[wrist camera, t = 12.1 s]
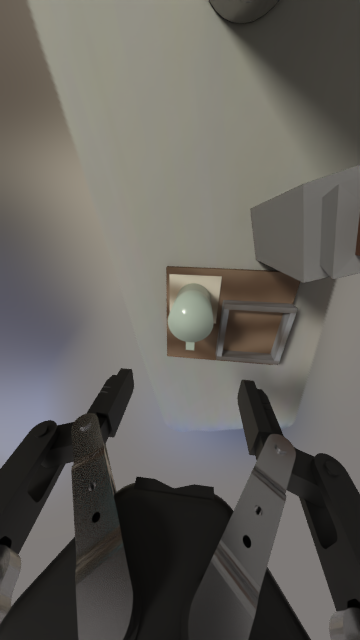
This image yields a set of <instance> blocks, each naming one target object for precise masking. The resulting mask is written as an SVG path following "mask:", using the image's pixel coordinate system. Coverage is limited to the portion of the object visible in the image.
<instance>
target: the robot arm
mask: <svg viewBox="0 0 360 640" xmlns="http://www.w3.org/2000/svg"><path fill="white" fill-rule="evenodd" d="M209 1H210V2H211V4H212V6H213V7H214V9H215V10H216V11H217V12H218V13H219V14H220V15H221V16H222V17H223V18H225V19H227V20H229V21H231V22H235V23H246V22H251V21H254V20H256V19H258V18H259V17H261V16H263V15H265V14H266V13H267V12H268V11H269V10H270V9H271V8H272V7H274V6H275V4H276V3H277V2H278V1H279V0H209ZM133 389H134V380H133V373H132V369H122V368H121V370H120V371H119V373H118V374H117V375H112V376H111V377H110V378H109V379H108V380H107V381H106V383H105V384H104V386H103V388H102V389H101V391H100V393H99V394H98V396H97V397H96V399H95V401H94V402H93V404H92V405H91V407H90V409H89V410H88V412H87V413H86V414H84V415H82V416H80V417H79V418H77V419H76V420H75V422H72V423H67V424H62V425H57V424H56V423H55V422H54V421H51V420H48V421H44V422H42V423H40V424H38V425H36V426H35V427H34V428H33V429H32V430H31V431H30V432H29V434H28V435H27V436H26V437H25V438H24V440H23V441H22V442H21V443H20V445H19V446H18V447H17V449H16V450H15V451H14V452H13V454H12V455H11V456H10V457H9V459H8V460H7V462H6V463H5V464H4V465H3V466H2V468H1V469H0V640H311V639H310V637H309V636H308V634H307V632H306V631H305V629H304V627H303V626H302V624H301V622H300V621H299V619H298V617H297V616H296V614H295V612H294V611H293V609H292V607H291V606H290V604H289V602H288V601H287V599H286V597H285V596H284V594H283V592H282V591H281V589H280V587H279V586H278V584H277V582H276V581H275V579H274V577H273V576H272V574H271V572H270V571H269V569H268V567H267V564H268V561H269V557H270V554H271V550H272V547H273V543H274V540H275V536H276V533H277V529H278V526H279V522H280V518H281V515H282V511H283V508H284V504H285V500H286V495H285V493H286V490H288V491H290V492H291V493H293V494H296V495H297V496H299V498H300V501H301V504H302V507H303V510H304V513H305V516H306V520H307V523H308V526H309V529H310V531H311V535H312V538H313V541H314V543H315V546H316V550H317V553H318V556H319V559H320V562H321V565H322V568H323V571H324V574H325V577H326V580H327V583H328V587H329V589H330V593H331V595H332V599H333V602H334V604H335V608H336V611H337V612H335V613H334V614H333V615H332V616H331V618H330V624H329V630H330V637H331V640H360V494H359V492H358V490H357V489H356V487H355V485H354V483H353V481H352V480H351V478H350V476H349V475H348V473H347V471H346V469H345V468H344V467H343V466H342V465H341V464H340V463H339V462H338V461H337V460H336V459H334V458H333V457H331V456H329V455H327V454H323V453H319V454H317V455H316V456H315V457H314V456H312V455H309V454H307V453H305V452H302V451H300V450H298V449H296V448H295V447H293V445H292V444H291V442H290V441H289V440H288V439H286V438H285V437H284V436H283V434H282V431H281V429H280V426H279V424H278V421H277V419H276V416H275V414H274V411H273V409H272V407H271V405H270V402H269V399H268V397H267V395H266V394H265V393H264V392H263V391H262V389H257V388H256V385H255V383H254V381H250V380H242V381H241V385H240V388H239V392H238V406H239V410H240V415H241V419H242V423H243V428H244V432H245V437H246V441H247V445H248V450H249V454H250V455H255V456H256V460H257V462H256V464H255V466H254V468H253V470H252V473H251V475H250V477H249V479H248V481H247V483H246V486H245V488H244V490H243V492H242V494H241V496H240V499H239V501H238V503H237V505H236V507H235V510H234V511H233V510H232V509H231V507H230V506H229V505H228V504H227V503H226V502H225V501H224V500H223V499H222V498H220V497H219V496H217V495H215V494H214V487H208V486H201V485H189V486H185V487H180V488H172V487H169V486H168V485H166V484H163V483H162V482H160V481H158V480H156V479H151V478H143V477H137V478H136V481H135V483H133V484H130V485H127V486H125V487H124V488H122V489H120V490H119V491H116V487H115V483H114V479H113V475H112V471H111V466H110V461H109V457H108V452H107V448H106V441H107V439H108V437H114V436H115V434H116V432H117V429H118V426H119V424H120V422H121V419H122V417H123V415H124V412H125V410H126V407H127V404H128V402H129V400H130V398H131V395H132V392H133ZM70 462H74V464H73V466H72V470H71V472H72V490H73V507H74V525H75V537H74V538H73V539H72V540H71V541H70V542H69V544H68V545H67V546H66V547H65V548H64V549H63V550H62V551H61V553H59V554H58V556H57V557H56V558H55V559H54V560H53V561H52V562H51V563H50V564H49V565H48V566H47V568H46V569H45V570H44V571H43V572H42V573H41V574H40V575H39V576H38V577H37V578H36V579H35V580H34V582H33V583H32V584H31V585H30V586H29V587H28V588H27V589H26V590H25V591H24V592H23V594H22V595H21V596H20V597H19V598H18V599H17V601H16V602H15V603H14V605H13V606H12V607H11V598H12V593H13V590H14V587H15V584H16V581H17V579H18V576H19V573H20V569H21V558H20V556H19V555H18V554H19V552H20V550H21V548H22V546H23V544H24V542H25V540H26V539H27V537H28V535H29V533H30V531H31V529H32V527H33V525H34V523H35V521H36V519H37V517H38V516H39V514H40V512H41V510H42V508H43V506H44V504H45V502H46V500H47V498H48V496H49V494H50V492H51V490H52V489H53V487H54V485H55V483H56V481H57V479H58V477H59V475H60V473H61V471H62V469H63V467H64V466H65V464H66V463H70Z"/></svg>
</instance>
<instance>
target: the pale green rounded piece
mask: <svg viewBox="0 0 360 640" xmlns="http://www.w3.org/2000/svg"><path fill="white" fill-rule="evenodd" d="M168 326H169V329H170V331H171V332H172V334H173V335H174V336H175V337H177V338H178V339H180V340H182V341H185V342H186V350H194V345H195V342H198V341H201V340H203V339H204V338H206V337H207V336H208V335H209V334H210V333H211V331H212V328H213V313H212V304H211V296H210V293H209V291H208V290H207V289H206V288H205V287H204V286H202V285H200V284H197V283H191V284H187V285H185V286H183V287H182V288H181V289H180V290H179V292H178V294H177V296H176V299H175V301H174V304H173V306H172V309H171V311H170V314H169V316H168Z"/></svg>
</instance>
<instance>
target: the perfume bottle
mask: <svg viewBox="0 0 360 640" xmlns="http://www.w3.org/2000/svg"><path fill="white" fill-rule="evenodd" d="M250 210H251V219H252V228H253V237H254V246H255V255H256V260H258V261H260V262H262V263H264V264H266V265H268V266H270V267H272V268H274V269H276V270H278V271H280V272H282V273H284V274H286V275H289V276H291V277H293V278H295V279H297V280H299V281H301V282H303V283H305V282H310V281H314V280H318V279H322V278H327V277H331V278H332V279H336V278H340V277H344V276H349V275H353V274H357V273H360V165H357V166H354V167H351V168H348V169H345V170H342V171H339V172H336V173H334V174H331V175H328V176H325V177H322V178H319V179H316V180H313V181H310V182H307V183H305V184H302V185H300V186H298V187H296V188H294V189H291V190H289V191H287V192H285V193H283V194H281V195H279V196H276V197H274V198H272V199H270V200H268V201H266V202H264V203H261V204H259V205H257V206H255V207H253V208H251V209H250Z"/></svg>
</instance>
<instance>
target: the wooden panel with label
mask: <svg viewBox="0 0 360 640" xmlns="http://www.w3.org/2000/svg"><path fill="white" fill-rule="evenodd" d="M166 273H167V356H173V357H185V358H197V359H209V360H221V361H233V362H245V363H257V364H269V365H273V364H274V365H278V364H279V361H280V358H281V355H282V352H283V350H284V347H285V344H286V341H287V338H288V335H289V333H290V330H291V327H292V324H293V321H294V318H295V316H296V313H297V310H298V308H297V307H295V306H294V305H293V302H294V299H295V296H296V293H297V290H298V287H299V284H300V281H299V280H297V279H295V278H293V277H291V276H289V275H286V274H284V273H282V272H280V271H267V270H244V269H220V268H197V267H173V266H167V267H166ZM191 283H197V284H200V285H202V286H204V287H205V288H206V289H207V290H208V291H209V293H210V296H211V304H212V313H213V328H212V331H211V333H210V334H209V335H208V336H207V337H206V338H204V339H203V340H201V341H198V342H195V345H194V350H186V342H185V341H182V340H180V339H178V338H177V337H175V336H174V335H173V334H172V332H171V331H170V329H169V326H168V316H169V314H170V311H171V309H172V306H173V304H174V301H175V299H176V296H177V294H178V292H179V290H180V289H181V288H182V287H183V286H185V285H187V284H191Z"/></svg>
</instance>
